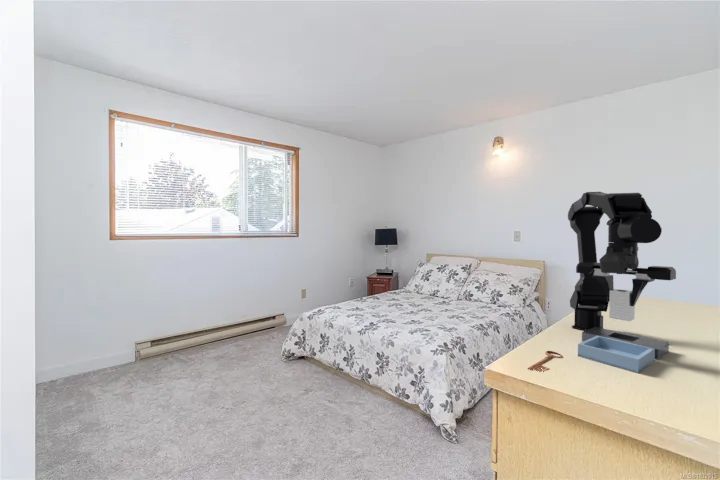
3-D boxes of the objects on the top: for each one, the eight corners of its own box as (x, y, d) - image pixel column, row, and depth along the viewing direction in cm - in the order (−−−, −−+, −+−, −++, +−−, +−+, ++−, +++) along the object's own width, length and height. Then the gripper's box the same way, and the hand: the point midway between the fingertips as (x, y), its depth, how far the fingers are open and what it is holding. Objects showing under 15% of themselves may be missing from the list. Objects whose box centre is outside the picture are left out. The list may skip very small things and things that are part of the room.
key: (547, 379, 68) (573, 361, 77) (548, 375, 68) (574, 357, 77) (520, 367, 72) (547, 352, 82) (520, 363, 72) (548, 348, 82)
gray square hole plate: (581, 340, 90) (582, 332, 90) (595, 335, 95) (595, 326, 95) (657, 359, 76) (658, 349, 76) (668, 351, 81) (668, 342, 81)
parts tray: (577, 356, 79) (578, 343, 79) (597, 346, 85) (597, 335, 85) (638, 373, 69) (638, 359, 69) (654, 361, 76) (654, 348, 76)
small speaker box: (609, 317, 81) (609, 289, 81) (614, 315, 83) (615, 288, 83) (629, 321, 78) (629, 292, 78) (634, 318, 80) (634, 290, 80)
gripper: (567, 242, 83) (566, 301, 83) (664, 243, 68) (663, 316, 68) (584, 242, 90) (584, 297, 90) (676, 243, 75) (676, 310, 75)
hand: (621, 304), depth 81 cm, fingers closed on small speaker box, 4 cm apart
